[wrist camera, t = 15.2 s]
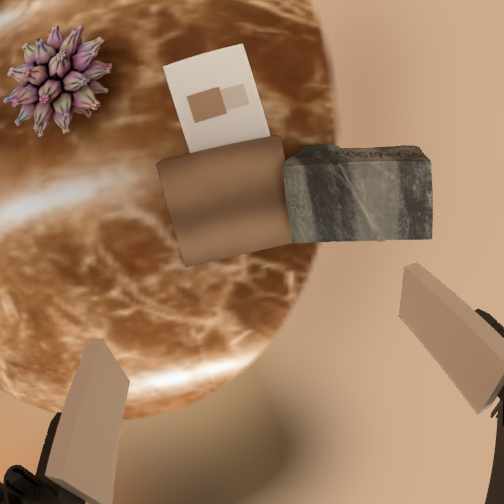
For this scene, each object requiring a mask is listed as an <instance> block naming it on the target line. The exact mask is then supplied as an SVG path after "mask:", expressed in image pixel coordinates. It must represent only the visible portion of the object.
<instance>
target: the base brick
mask: <svg viewBox="0 0 504 504" xmlns="http://www.w3.org/2000/svg"><path fill="white" fill-rule="evenodd" d="M284 162H285V156H284V150H283V145H282V139H281V136H277V135H273V136H268V137H263V138H257V139H252V140H247V141H242V142H237V143H232V144H227V145H222V146H218V147H213V148H209V149H205V150H201V151H196V152H192V153H188V154H184V155H180V156H176V157H172V158H169V159H165V160H161V161H160V162H158V163H157V164H156V166H157V170H158V174H159V178H160V181H161V185H162V189H163V193H164V196H165V200H166V203H167V207H168V211H169V214H170V218H171V221H172V224H173V228H174V231H175V235H176V238H177V241H178V245H179V248H180V251H181V254H182V257H183V261H184V264H185V267H190V266H194V265H199V264H203V263H207V262H212V261H216V260H220V259H225V258H229V257H233V256H238V255H242V254H246V253H251V252H255V251H259V250H264V249H268V248H272V247H277V246H281V245H285V244H290V243H294V242H293V241H292V235H291V228H290V222H289V214H288V208H287V203H286V196H285V183H284V176H283V169H282V167H283V165H284Z"/></svg>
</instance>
